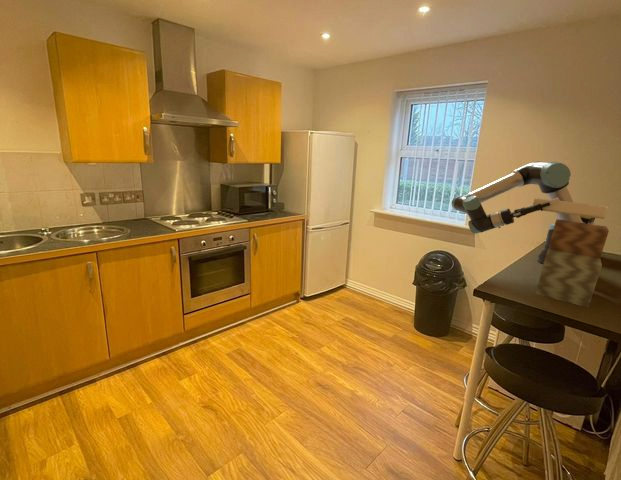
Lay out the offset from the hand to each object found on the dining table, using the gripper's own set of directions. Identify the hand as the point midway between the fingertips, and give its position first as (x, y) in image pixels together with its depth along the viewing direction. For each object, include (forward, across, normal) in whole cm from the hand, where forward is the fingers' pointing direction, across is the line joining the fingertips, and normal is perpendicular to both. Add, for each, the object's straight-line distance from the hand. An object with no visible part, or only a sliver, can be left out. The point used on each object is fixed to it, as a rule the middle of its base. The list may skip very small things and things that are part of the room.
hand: (558, 200), depth 149 cm
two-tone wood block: (-11, +6, -39) cm, 41 cm away
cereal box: (-9, -83, -40) cm, 92 cm away
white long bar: (+1, 0, -6) cm, 6 cm away
